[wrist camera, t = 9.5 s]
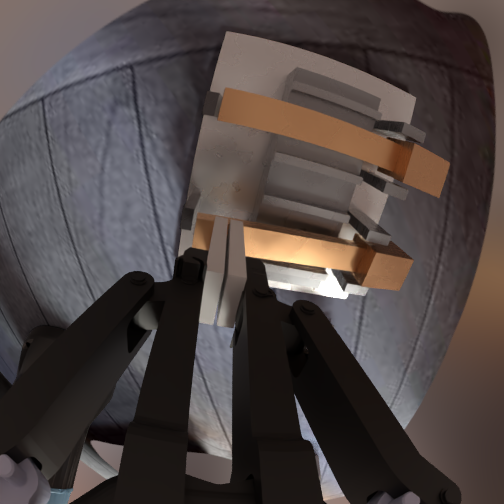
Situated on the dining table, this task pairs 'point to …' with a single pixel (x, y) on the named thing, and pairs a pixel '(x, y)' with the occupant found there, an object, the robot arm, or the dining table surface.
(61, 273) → the dining table surface
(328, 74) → the heatsink base
